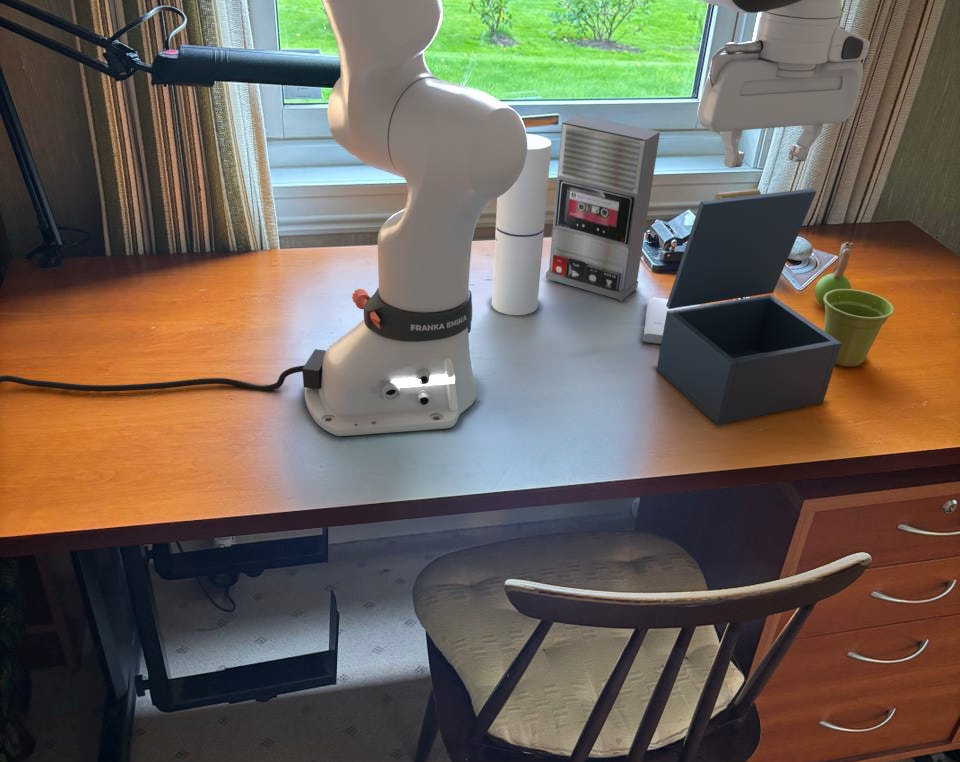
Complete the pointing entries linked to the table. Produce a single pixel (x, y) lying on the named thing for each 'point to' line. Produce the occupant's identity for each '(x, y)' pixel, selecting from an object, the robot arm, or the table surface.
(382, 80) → the robot arm
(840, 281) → the green maraca
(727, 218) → the lid
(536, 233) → the cylindrical container
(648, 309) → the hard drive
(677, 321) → the chest
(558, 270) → the cassette tape recorder
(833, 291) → the plant pot
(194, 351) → the table surface
